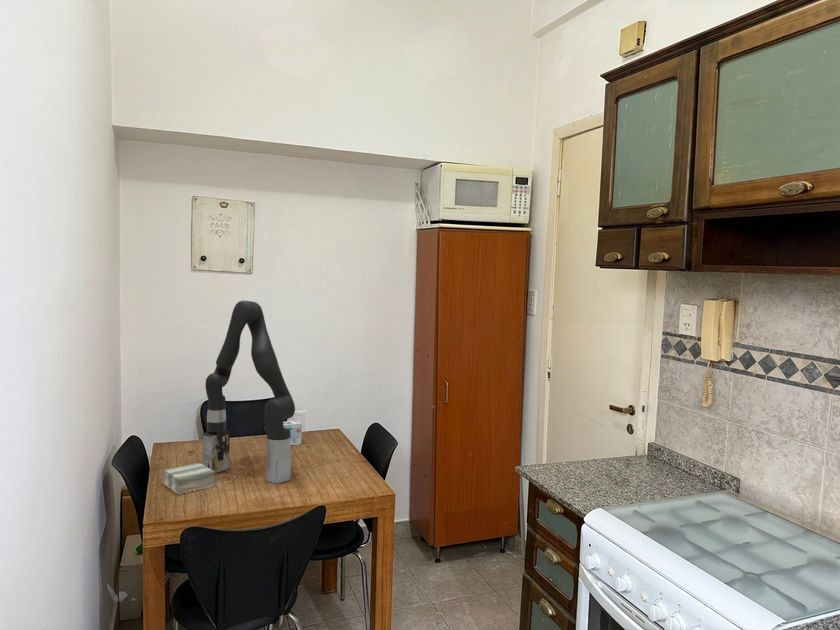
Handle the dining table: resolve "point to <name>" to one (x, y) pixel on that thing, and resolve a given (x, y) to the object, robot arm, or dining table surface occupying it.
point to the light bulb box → (294, 431)
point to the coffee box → (215, 452)
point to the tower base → (189, 478)
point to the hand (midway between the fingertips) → (216, 457)
